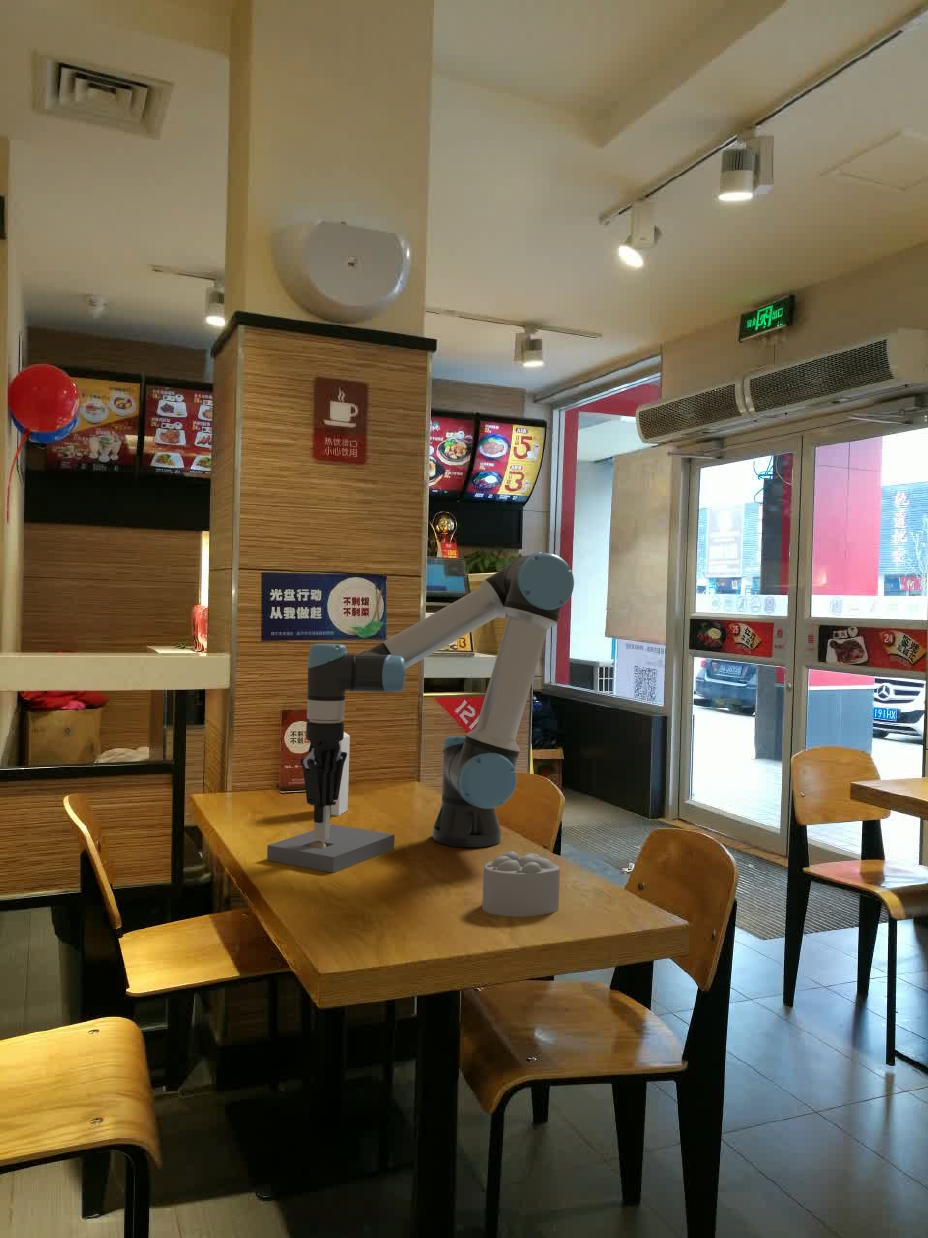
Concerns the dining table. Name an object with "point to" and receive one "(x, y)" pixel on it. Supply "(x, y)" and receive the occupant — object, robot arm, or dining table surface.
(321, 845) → the wooden ball
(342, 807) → the milk
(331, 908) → the dining table surface
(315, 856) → the pocket board
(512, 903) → the lumpy-topped squat cylinder
